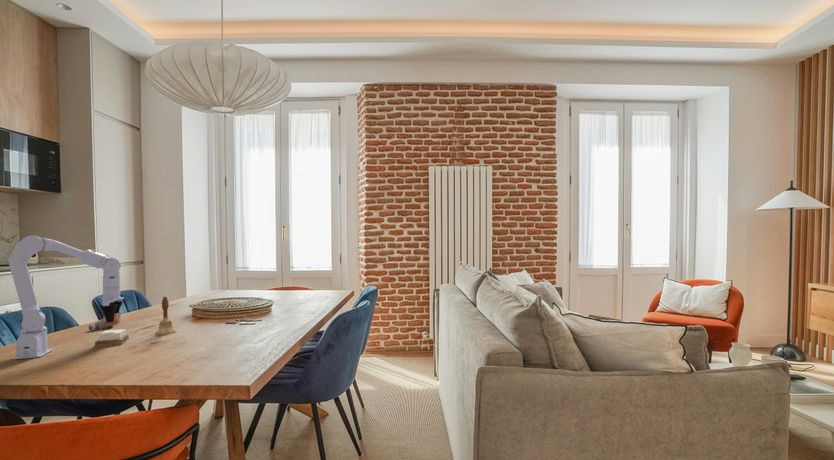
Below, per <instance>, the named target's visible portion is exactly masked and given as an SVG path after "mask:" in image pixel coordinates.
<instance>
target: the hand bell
mask: <svg viewBox="0 0 834 460" xmlns="http://www.w3.org/2000/svg"><path fill="white" fill-rule="evenodd" d="M161 308H162V311H163V313H162V315H163V317H162V319H161V320H160V321H159V326H158V328H157V330H156V331H155V332H154V335H157V336H160V335H162V336H163V335H171V334H174V333H177V329H176V328H175V326H173V323H172V319H171V318H169V316H168V314H169V313H168V309H169V300H168V298H167V296H163V297H162V300H161Z"/></svg>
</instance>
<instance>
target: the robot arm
mask: <svg viewBox="0 0 834 460" xmlns="http://www.w3.org/2000/svg"><path fill="white" fill-rule="evenodd" d="M43 248H44V252H45V251H46V252H47V251H48V252H49V251H55V252H59V253H63V254H65V255H67V256H72V257H74V258H78V259H79V262H80V264H85V265H87V266H91V267H94V268H96V269H102V271H103V272H102V299H101V301H102V304H100V305H99V308H100V310H101V311H102V313H103V316H104V315H105V319H106V322H113V320H114V315H115V313H120V310H121V307H122V305H123V303H124V301H123V300H125V299H124V298H125V297H123V296H121V276H120V269H121V266H122V264H121V261H119V260H118V259H117V258H114V257H111V256H110V254H106V255H105V254H103V253H100V252H97V249H94V248H92V249H88V248H87V249H86V250H85V249H84V250H82V249H79V248H76V247H74V246H71V245H69V244H66V243H63V242H61V241H58V240H55V239H50V238H46V237H41V236H39V235H27V236H25V237H23V238H22V239H21V240H20V241H19V242H17V244H16V245H15V247H14V249H13V250H12V252H11V254H10V256H9V258H8V260H7V261H8V265H9V269H10V273H11V276H12V280H13V283H14V287H15V290H16V294H17V298H18V300H19V301H18V302H19V304H20V307H21V314H22V321H21V327H22V329H20V336H19V337H18V338H17V339H16V343H15V346H16V347H15V348H16V349H15V350H16V351H15V353H16V356H15V357H13V358H12V360H23V359H33V358H40V357H41V358H42V357H43V356H45V355H47V354H48V353H50V352H51V351H53V348H48V327H47V326H45V324H46V315H45V313H44V312H43V311H41V309H40V306H39V303H38V300H37V296H36V292H35V289H34V285H33V281H32V277H31V273H30V270H29V267H28V263H27V262H28V261H29V260H30V259H31V258H32V257H33V256H34V255H35V254H38V253H39V252H40V251H42V250H43Z"/></svg>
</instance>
